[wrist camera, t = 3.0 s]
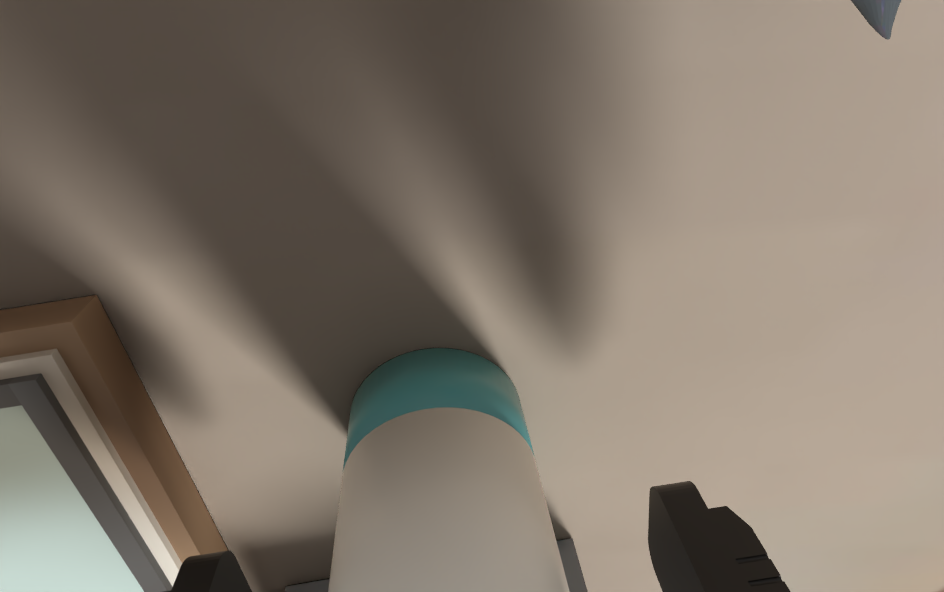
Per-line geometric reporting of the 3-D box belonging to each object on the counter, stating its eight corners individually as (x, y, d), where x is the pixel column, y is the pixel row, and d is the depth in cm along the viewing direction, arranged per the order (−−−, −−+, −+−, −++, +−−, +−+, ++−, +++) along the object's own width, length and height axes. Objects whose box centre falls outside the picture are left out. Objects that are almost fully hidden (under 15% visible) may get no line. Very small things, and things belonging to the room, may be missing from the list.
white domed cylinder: (331, 364, 13) (254, 773, 6) (512, 334, 13) (619, 707, 6) (370, 492, 15) (343, 902, 8) (527, 465, 15) (621, 852, 8)
